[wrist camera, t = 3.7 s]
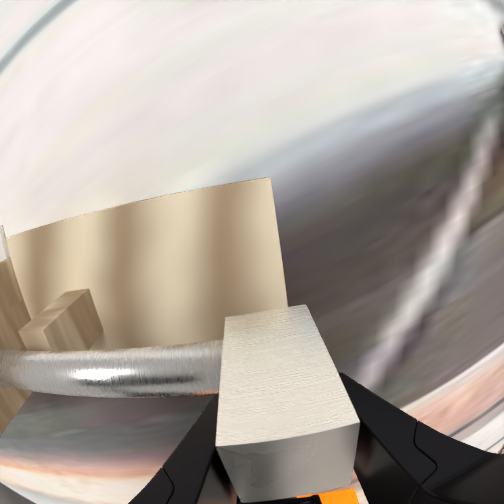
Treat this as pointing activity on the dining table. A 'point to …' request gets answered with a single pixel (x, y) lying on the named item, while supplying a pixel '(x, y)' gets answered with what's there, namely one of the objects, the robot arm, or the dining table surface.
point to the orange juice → (338, 497)
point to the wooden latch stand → (140, 274)
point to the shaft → (230, 396)
